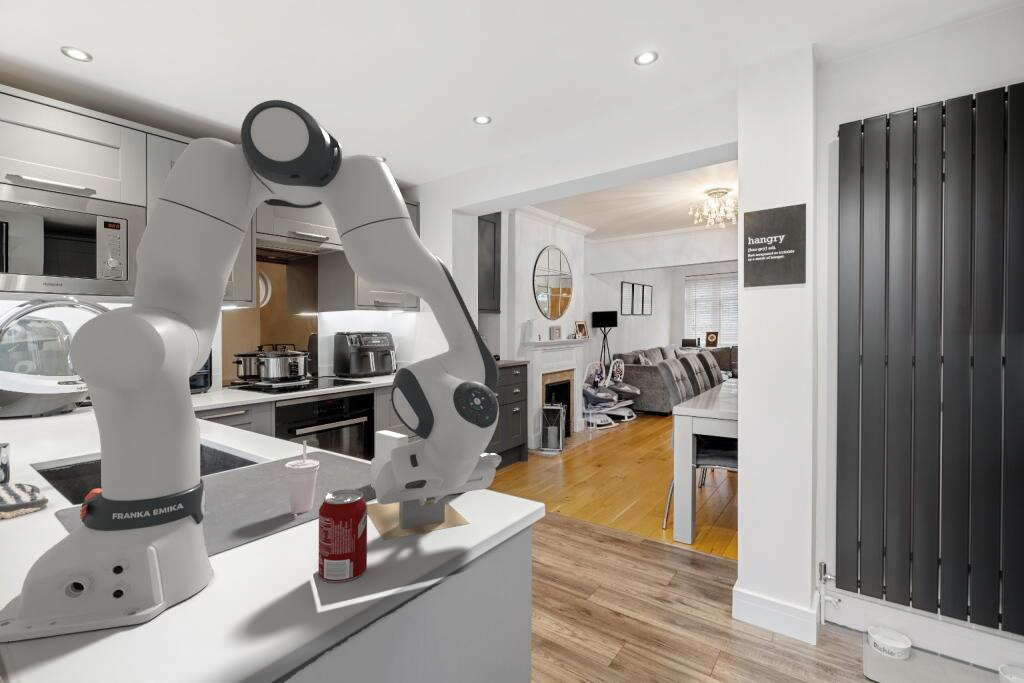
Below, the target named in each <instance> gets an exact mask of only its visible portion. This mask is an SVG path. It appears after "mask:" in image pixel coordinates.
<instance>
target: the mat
mask: <svg viewBox="0 0 1024 683" xmlns="http://www.w3.org/2000/svg"><path fill="white" fill-rule="evenodd" d="M367 517H368V518H369V519H370V520H371V522H372V524H373V525H374V527H375V528H376V530H377V531H378V533H379V535H380V537H381V538H382V540H384V541H386V540H391V539H392V540H393V539H396V538H402V537H403V538H404V537H407V536H412V535H417V534H425V533H429V532H433V531H439V530H440V531H441V530H444V529H445V530H446V529H449V528H450V529H451V528H454V527H456V528H457V527H459V526H465V525H470V524H471V523H470V522H469V521H468V520H467V519H466V518H465V517H464V516H463V515H462V514H460V513H459V511H457V510H456V509H455V508H453V507H452V506H451V505H450V504H449V503H448V502H447V501H446V500H445V522H441V523H436V524H430V525H425V526H420V527H414V528H409V529H403V530H402V528H401V527H400V526H399V502H397V503H391V504H385V505H382V504H380V503H378V502H376V503H375V502H374V503H373V502H372V503H368V504H367Z"/></svg>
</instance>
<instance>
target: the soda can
mask: <svg viewBox="0 0 1024 683" xmlns="http://www.w3.org/2000/svg"><path fill="white" fill-rule="evenodd" d="M363 497H364V493H363V492H362V491H361V490H358V489H350V488H349V489H339V490H333V491H331V492H327V493H326V494H324V495H323V502H322V504H321V505H320V507H319V509H318V578H319V579H321V580H322V582H327V583H330V584H331V583H332V584H340V583H341V584H342V583H348V582H350V581H355V580H357V579H358V578H360V577H361V576H363V575H364V574H365V573H366V571H367V568H368V565H367V564H368V563H367V562H368V555H367V553H368V514H367V502H366V501H365V499H364V498H363Z"/></svg>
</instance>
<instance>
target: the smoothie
mask: <svg viewBox="0 0 1024 683" xmlns="http://www.w3.org/2000/svg"><path fill="white" fill-rule="evenodd" d="M302 445H303V446H302V447H303V448H302V456H303V457H302V459H297V460H292V461H289V462H287V463H285V464H284V472H285V473H286V479H287V488H288V495H289V502H290V511H291V514H292V513H293V514H302V513H303V514H304V513H307V512H309V511H312V510H313V507H314V506H313V505H314V500H315V492H316V484H317V477H318V469H320V461H319V460H316V459H310V458H308V459H307V440H303V441H302Z"/></svg>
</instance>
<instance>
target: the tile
mask: <svg viewBox="0 0 1024 683" xmlns="http://www.w3.org/2000/svg"><path fill="white" fill-rule="evenodd" d="M445 501H446V496H444V497H442V498H441V499H438V501H437V503H434V504H428V505H422V506H421V505H420V501H419V499H417V500H410V501H404V502H399V526H400V527H401V528H402V530H403V529H409V528H414V527H420V526H425V525H430V524H436V523H441V522H445Z"/></svg>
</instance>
